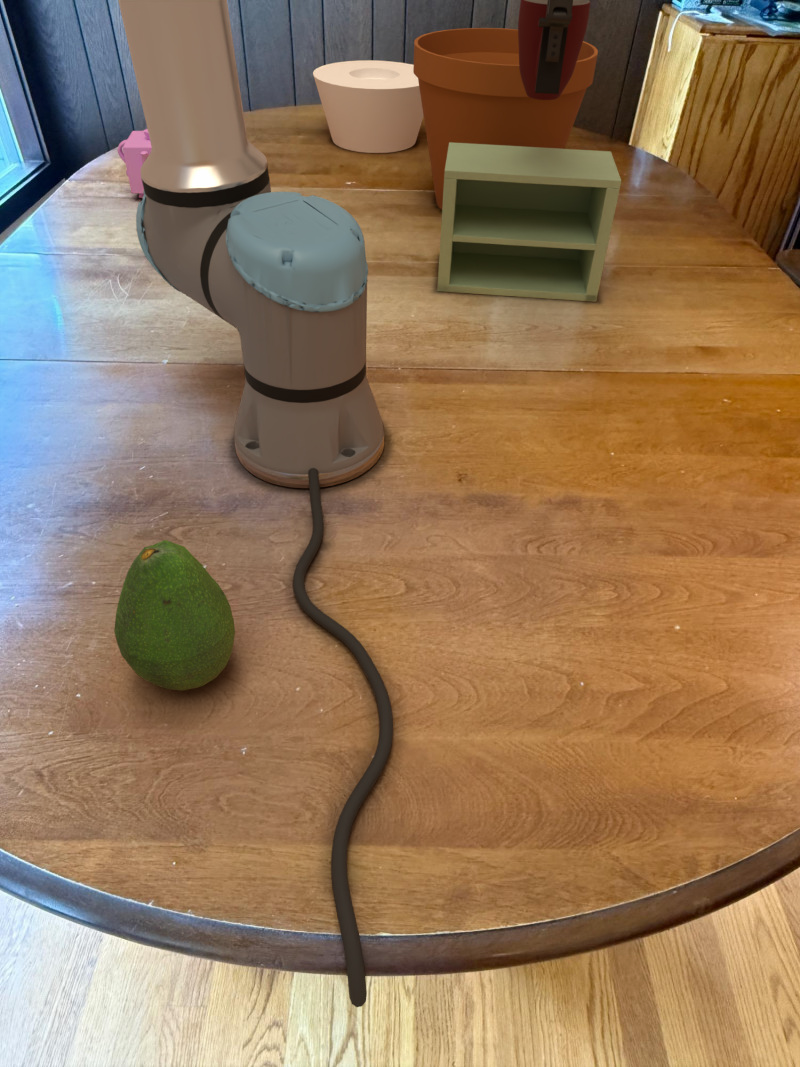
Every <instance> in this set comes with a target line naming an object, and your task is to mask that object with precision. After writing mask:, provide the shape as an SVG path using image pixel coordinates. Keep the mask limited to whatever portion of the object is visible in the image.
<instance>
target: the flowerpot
mask: <svg viewBox="0 0 800 1067" xmlns="http://www.w3.org/2000/svg"><path fill="white" fill-rule="evenodd" d="M413 44H414V45H413V65H414V68H413V73H414V74H415V75H416V77H418V82H419V88H420V95H421V102H422V108H423V115H424V116H423V121H424V128H425V136H426V141H427V147H428V154H429V162H430V166H431V167H430V169H431V174H432V176H431V177H432V181H433V189H434V196H435V202H436V203H435V204H436V205H437V207H438V208H439V209H440V210H442V205H443V189H444V173H445V165H446V159H447V153H448V146H449V142H452V143H469V144H487V145H505V146H522V147H540V148H558V149H566V146H567V144H568V141H569V138H570V136H571V132H572V130H573V127H574V124H575V121H576V119H577V116H578V113H579V110H580V108H581V105H582V102H583V99H584V97H585V95H586V92H587V90H588V89H587V88H589V87H591V85H593V83H594V77H595V70H596V65H597V60H598V53H599V50H598V49H597V47H596V46H594V45H593V44H591V43H589V42H587V41H584V40H583V43H582V46H581V49H580V52H579V56H578V59H577V62H576V65H575V69H574V72H573V74H572V76H571V78H570V80H569V82H568V84H567V85H566V87H565V88H564V90H563V92H562V93H561V95H560V96H559V98H557V99H554V100H538V99H533V98H530V97H528V96H527V94H526V91H525V88H524V85H523V82H522V79H521V75H520V68H519V42H518V28H517V29H516V28H502V27H501V28H499V27H498V28H497V27H469V28H468V27H467V28H454V29H453V28H452V29H444V30H437V31H431V32H428V33H424V34H421V35H419V36H417V37H416V38H415V39H414V42H413Z"/></svg>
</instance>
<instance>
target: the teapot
mask: <svg viewBox="0 0 800 1067" xmlns="http://www.w3.org/2000/svg"><path fill="white" fill-rule="evenodd" d="M151 150H152V146H151V142H150V137H149V133H148V129H147V128H145V129H143V130H132V131H131V133H130V134H129V136H128V138H127V139H123V140H122V141H121V142H120V143H119V144H118V146H117V153H118V156H119V158H120V159H121V160H122V162H123V163H124V164H125V168H126V170H125V173H126V176H127V178H128V184H129V187H130V194H138V198H140V199H142V198H143V196H144V193H143V191H144V187H143V183H142V179H141V173H140V169H141V166H142V165H143V163H144V162H145V160H146V159H147V157H148V156H149V155H150V153H151Z"/></svg>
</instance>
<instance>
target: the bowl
mask: <svg viewBox="0 0 800 1067" xmlns="http://www.w3.org/2000/svg"><path fill="white" fill-rule="evenodd" d="M413 68H414V64H412V63H406V62H399V61H392V60H391V61H388V60H368V59H367V60H346V61H339V62H338V61H337V62H332V63H327V64H324V65H321V66H319V67H317V68H315V69H314V70H313V72H312V75H313V79H314V83H315V85H316V89H317V93H318V95H319V100H320V103H321V106H322V110H323V113H324V117H325V119H326V124H327V127H328V130H329V133H330V136H331V140H332V143H333V144H334V145H336V146H338V147H339V148H341V149H344V150H347V151H352V152H358V153H365V154H366V153H367V154H387V153H396V152H400V151H404V150H408V149H410V148H412V147H413V146H415V144H416V142H417V140H418V136H419V133H420V129H421V127H422V122H423V121H424V115H423V108H422V102H421V95H420V88H419V82H418V77H416V75H415V74H414V73H413Z"/></svg>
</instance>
